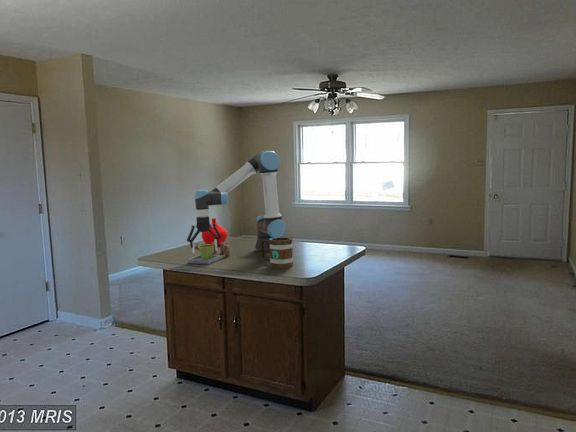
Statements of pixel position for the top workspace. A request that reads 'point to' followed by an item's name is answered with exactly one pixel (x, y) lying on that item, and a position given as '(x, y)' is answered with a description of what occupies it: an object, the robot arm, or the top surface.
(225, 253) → the posts
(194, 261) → the tray
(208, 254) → the plant pot
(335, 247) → the top surface
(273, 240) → the mug
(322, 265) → the top surface
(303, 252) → the top surface
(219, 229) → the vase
